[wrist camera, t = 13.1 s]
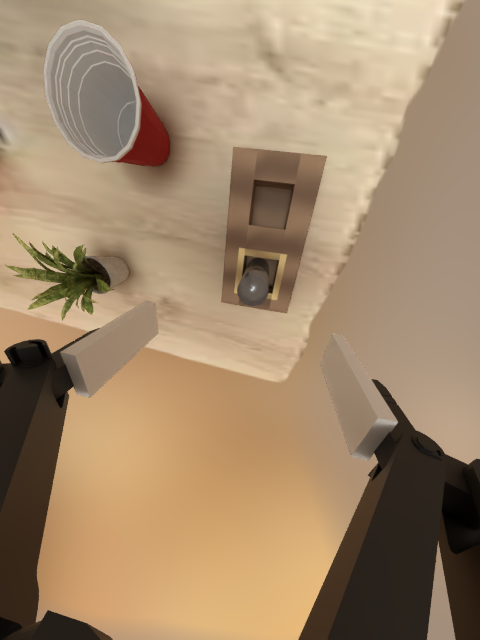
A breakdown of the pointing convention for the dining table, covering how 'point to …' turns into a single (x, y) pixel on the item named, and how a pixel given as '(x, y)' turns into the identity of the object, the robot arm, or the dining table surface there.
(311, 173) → the hole block
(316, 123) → the dining table surface
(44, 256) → the house plant
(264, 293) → the pin
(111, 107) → the plastic cup
